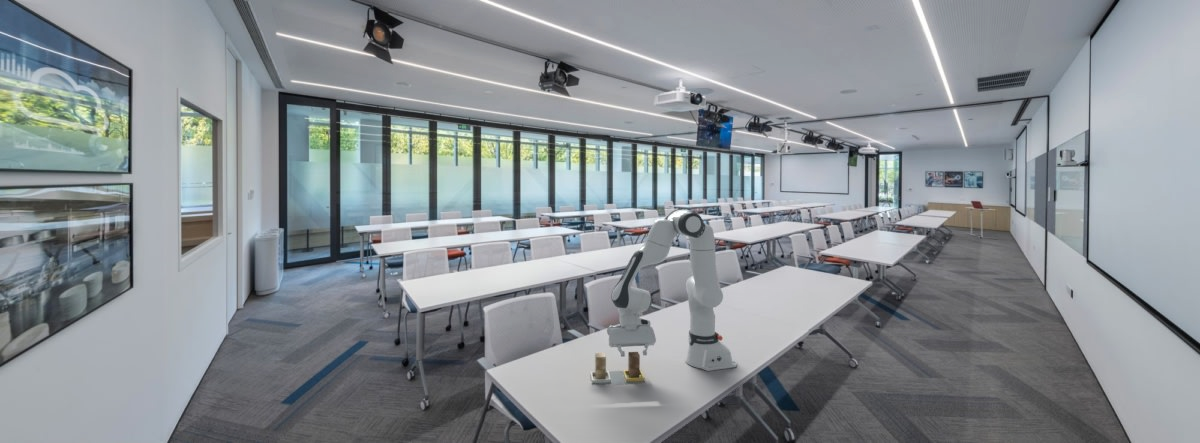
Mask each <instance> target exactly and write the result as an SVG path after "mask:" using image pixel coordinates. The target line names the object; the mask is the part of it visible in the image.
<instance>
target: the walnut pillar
mask: <svg viewBox="0 0 1200 443" xmlns="http://www.w3.org/2000/svg"><path fill="white" fill-rule="evenodd" d="M640 357H641V356H640V353H639V351H628V365H627V366H628V367H627V370H628V375H629V378H639V372H640V370H641V369H640V368H641V367H640V364H641V363H640V361H641V360H640Z"/></svg>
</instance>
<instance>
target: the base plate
mask: <svg viewBox="0 0 1200 443" xmlns="http://www.w3.org/2000/svg"><path fill="white" fill-rule="evenodd" d="M589 375H590V376H589V377H590V382H591V386H592V387H593V386H594V387H596V386H619V385H638V384H646V383H647V382H646V379H645V375H644V373H643V371H642V369H640V372H639V378H629V375H628V369H627V370H626V369H624V370H613V371H609V370H606V379H596V377H595V371H590V372H589Z"/></svg>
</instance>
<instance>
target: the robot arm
mask: <svg viewBox="0 0 1200 443" xmlns="http://www.w3.org/2000/svg"><path fill="white" fill-rule="evenodd" d="M678 235H681V236H687V237H688V239H689V264H690V266H689V267H690V268H691V272H692V275H691V276H690V277H689V278H687V280H686V282H685V289H686V292H687V301H688V302H687V303H688V308H689V315H690V317H689V331H688V349H687V350H688V351H687V354H686V357H685V363H686V364H687V365H690V366H691V367H694V368H697V369H702V370H704V371H707V372H711V371H718V370H724V369H730V368H731V369H732V368H736V367H737V361H736V359H735V358H734V357H733V356H732V354H731V351H730V348H728V346H726V345H725V344H724V343H722V342H721V341H722V340H723V336H722V335H721V334H719V333H718V332H717V331H716V314H715V312H714V308H717V307H718V306H720V305H721V304H722V302H723V300H724V294H723V291H722V288H721V284H720V280H719V276H718V270H717V265H716V260H717V259H716V240H715V235H714V229H713V227H712V226H711V225H709V224H707V223H705V222H704V221H703V218H702V216H701V215H700V214H699V213H698V212H696V211H692V210H690V209H674V210H672V211H671V212H669V213H668V215H667V216H666V217H665V218H658V219H656V220H655V221H654V222H653V224H652V225H651V228H650V230H649V232H648V234H647V236H646V239H645V241H644V243H643V245H642V247H641V248H640V249H638V250H636V251H634V253H633V254H632V255H631V258H630V260H629V261H628V263H627V265H626V267H625V268H624V271H623V273H622V274H621V277H620V278H619V280H618V282H617V283H616V285H615V286H614V287H613V289H612V290H611V291H612V292H611V297H610V299H611V301H612V303H613V305H614V306H615V307H616V308H617V311H618V313H619V319H618V320H619V325H610V326H609V327H607V328H606V333H607V335H608V346H609V347H610V348H617V351H618V352H619V353H620V357H621V358H622V357H625V356H626V354H625V350H622V347H623V348H624V347H628V348H629V347H644V349H643V350H642V355H643V356H648V348H649V346H654V345H655V344H656V343H657V338H656V334H655V330H654V328H653V327H652V325H651V323H652V322H651V320H648V319H644V318H641V317H640V316H639V315H640V314H643V313H644V312H647V311H648V310H649V309H651V306H652V304H653V303H652V302H653V297H652V295H651V292H650V291H649V290H646V289H643V288H639V287H636V286H635V287H634V286H632V284H633V282H634V280H635V278H636V276H637V274H638V273H639V271H640V270H641V269H642V268H643V267H646V266H649V265H650V266H652V265H656V264H660V263H662V262H663V261H665V260H666V258H667V257H668V255H669V254H670V250H671V247H672V243H673V241H674V239H675V238H676V236H678Z"/></svg>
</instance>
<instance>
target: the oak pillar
mask: <svg viewBox="0 0 1200 443" xmlns="http://www.w3.org/2000/svg"><path fill="white" fill-rule="evenodd" d="M594 354H595V355H594V356H595V357H594V358H595V359H594V360H595V361H594V363H595V364H594V366H595V367H594V372H595V377H596V379H606V371H607V356H606V353H605V352H600V353H599V352H597V353H596V352H595V353H594Z"/></svg>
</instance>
